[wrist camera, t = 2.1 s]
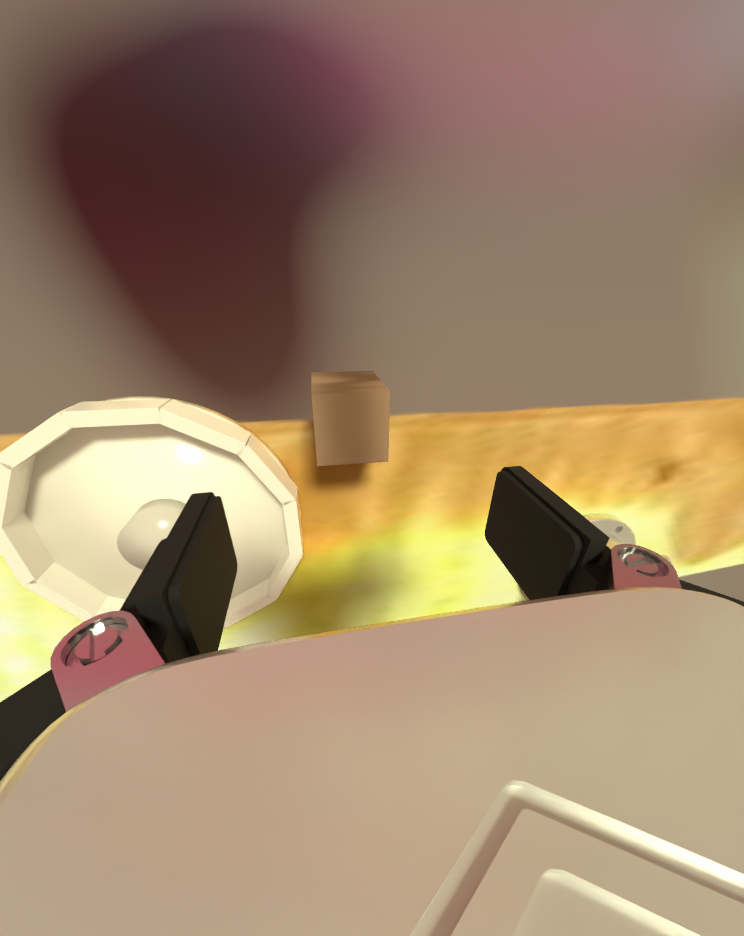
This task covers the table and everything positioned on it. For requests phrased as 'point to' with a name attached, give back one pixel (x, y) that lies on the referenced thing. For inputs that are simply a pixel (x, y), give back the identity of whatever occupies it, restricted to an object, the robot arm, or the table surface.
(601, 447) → the table surface
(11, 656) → the table surface
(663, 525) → the table surface
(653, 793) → the robot arm
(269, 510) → the dish
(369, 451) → the wooden brick
